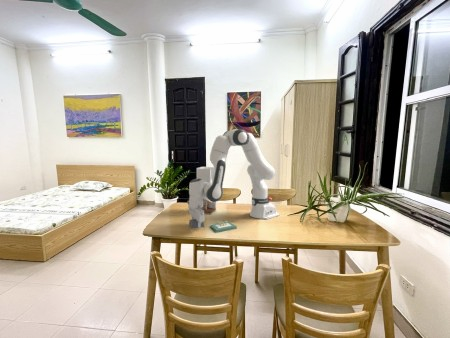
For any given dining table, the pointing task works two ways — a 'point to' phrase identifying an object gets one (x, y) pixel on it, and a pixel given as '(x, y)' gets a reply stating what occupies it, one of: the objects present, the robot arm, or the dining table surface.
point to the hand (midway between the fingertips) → (196, 224)
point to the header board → (223, 227)
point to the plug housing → (194, 224)
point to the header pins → (223, 223)
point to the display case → (208, 176)
